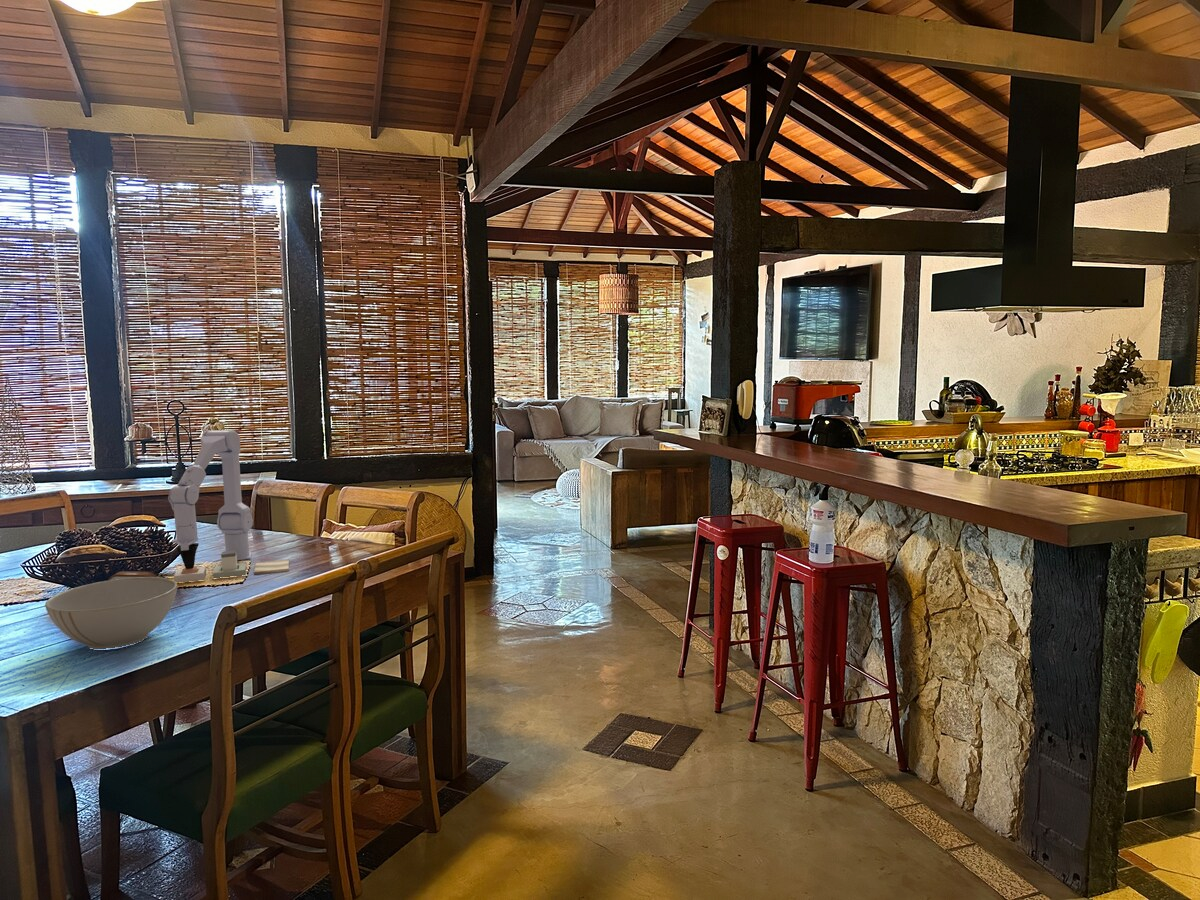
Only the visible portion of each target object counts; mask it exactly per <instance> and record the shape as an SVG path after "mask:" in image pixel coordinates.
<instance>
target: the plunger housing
mask: <svg viewBox="0 0 1200 900" xmlns="http://www.w3.org/2000/svg"><path fill="white" fill-rule="evenodd" d="M182 569H183V568H181V569H179V568H178V569H176V570H175V573H174V574H173V580H174V581H175V582H178V583H179V582H189V581H198V580H204V578H205V579H206V577H205V575H206V576H207V567H206V566H199V567H197V572H196V573H187V574H183V570H182ZM204 581H205V580H204Z"/></svg>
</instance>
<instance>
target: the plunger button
mask: <svg viewBox="0 0 1200 900" xmlns="http://www.w3.org/2000/svg"><path fill="white" fill-rule="evenodd" d="M197 568H198V567H197V566H194V568H193V569H185V567H183V568H181V569H182V570H183V574H187V573H196V572H197Z"/></svg>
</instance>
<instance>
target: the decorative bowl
mask: <svg viewBox="0 0 1200 900" xmlns="http://www.w3.org/2000/svg"><path fill="white" fill-rule="evenodd" d="M177 592H178V584H177V583H176V582H175V581H174V579H171V578H165V577H159V576H157V577H136V578H124V579H116V580H109V581H108V580H104V581H98V582H93V583H89V584H85V585H84V584H83V585H79V586H76V587H74V588H70V589H67V590H64V591H61V592H59V593H57V594H55V595H53V596H51V597H50V598H49V599H47V601H45V604H44V607H45V609H46V612H47V614H48V617H49V618H50V619H51V621H52V622H53V623H54V624H55V626H56V627H57V628H58V629H59V630H60V631H61V632H62V633H63V634H64V635H66V637H68V638H70V639H72V640H73V641H76V642H78V643H82V644H84V645H87V648H88V647H89V648H93V649H106V648H115V647H122V646H126V645H130V644H134V643H137V642H139V641H142V640H143V639H145V638H146V637H147V636H148V637H149V634H150V633H151V632H153V631H154V630H155V629H156V628H158V627H159V625H160V624H161V623H162V622H163V621H164V619H166V617H167V615H168V614H169V612H170V611H171V608H172V606H173V603H174V602H175V599H176V596H177ZM148 637H147V638H148ZM89 648H88V649H89Z"/></svg>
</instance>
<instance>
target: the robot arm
mask: <svg viewBox="0 0 1200 900" xmlns="http://www.w3.org/2000/svg"><path fill="white" fill-rule="evenodd" d="M240 437H241V436H240V434H239V433H238V432H237V431H236V430H235V429H230V430H221V429H220V430H210V429H206V430H205V431H204V432H203V433H202V435H201V437H200V445H201V447H200V450H199V452H198V453H197V456H196V458H195V461H194V462H193V465H190V466H187V468H186V469H185V471H184V473H183V475H182V476H181V478H180V479H179V481H178V483H177V485H175V486H173V487H171V488H170V489H169V491H168V492H169V493H168V496H167V499H168V502H169V504H170V506H171V510H172V511H173V513H174V515H173V516H174V524H175V525H174V526H175V537H176V539H173V540H171V543H172V544H177V545H178V546H177V547H176V551H177V552H178V554H179V555H180V557H181V559H182V563H183V566H184V568H185V569H193V568H194V567H195V564H196V563H195V562H196V555H197V550H198V547H199V543H198V541H199V540H200V539H199V537H198V527H197V525H198V524H197V515H196V514H197V513H196V503H197V502H198V500H199V497H200V487H201V485H202V483H203V482H204V480H205V478H206V476H207V472H206V471H205V470H206V469H207V467H208V466H209V464H211V463H210V462H211V461H212V460H213V458H214V457H215V455H216V454H217V455H218V456H219V457H220V458H221V464H222V465H221V467H222V469H221V470H222V480H223V481H222V482H223V484H222V485H223V495H224V496H223V500H224V504H223V506H221V507H220V508H219V509H218V516H217V521H216V524H217V525H216V526H217V528H218V530H219V531H221V534H224V545H225V546H224V547H225V551H234V550H236V555H237V561H243V560H250V559H251V558H252V553H253V552H252V551H250V545H249V544H250V543H249V532H250V531H251V529H252V528H253V525H254V519H253V516H252V512H251V508H250V507H249V506H248V505H247V504H245V503H243V502H242V501H243V497H242V485H241V481H242V480H241V467H240V454H241V438H240Z"/></svg>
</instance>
